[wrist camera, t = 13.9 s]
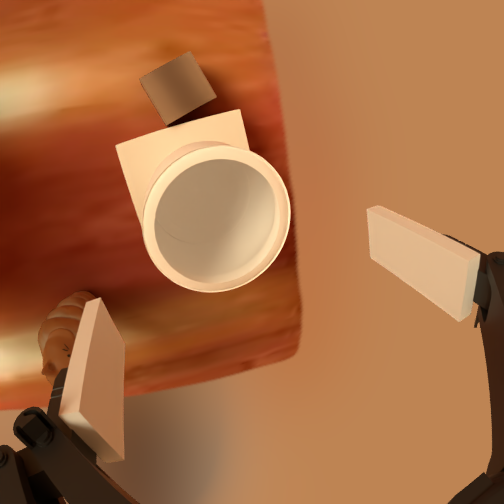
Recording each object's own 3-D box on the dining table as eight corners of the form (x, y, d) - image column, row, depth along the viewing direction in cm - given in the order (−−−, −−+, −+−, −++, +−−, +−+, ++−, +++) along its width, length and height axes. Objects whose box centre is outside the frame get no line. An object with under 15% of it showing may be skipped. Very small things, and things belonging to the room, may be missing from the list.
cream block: (154, 245, 41) (154, 261, 37) (120, 143, 35) (115, 145, 31) (254, 213, 44) (266, 224, 39) (230, 111, 38) (239, 109, 33)
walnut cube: (165, 125, 36) (166, 125, 31) (142, 86, 34) (139, 78, 28) (208, 101, 37) (217, 97, 31) (185, 61, 34) (190, 50, 29)
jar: (173, 122, 32) (181, 118, 18) (256, 160, 36) (316, 184, 23) (134, 211, 34) (119, 267, 21) (216, 243, 38) (250, 310, 25)
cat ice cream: (126, 296, 43) (118, 388, 27) (97, 332, 43) (83, 425, 27) (76, 259, 39) (38, 339, 23) (50, 298, 40) (12, 384, 24)
